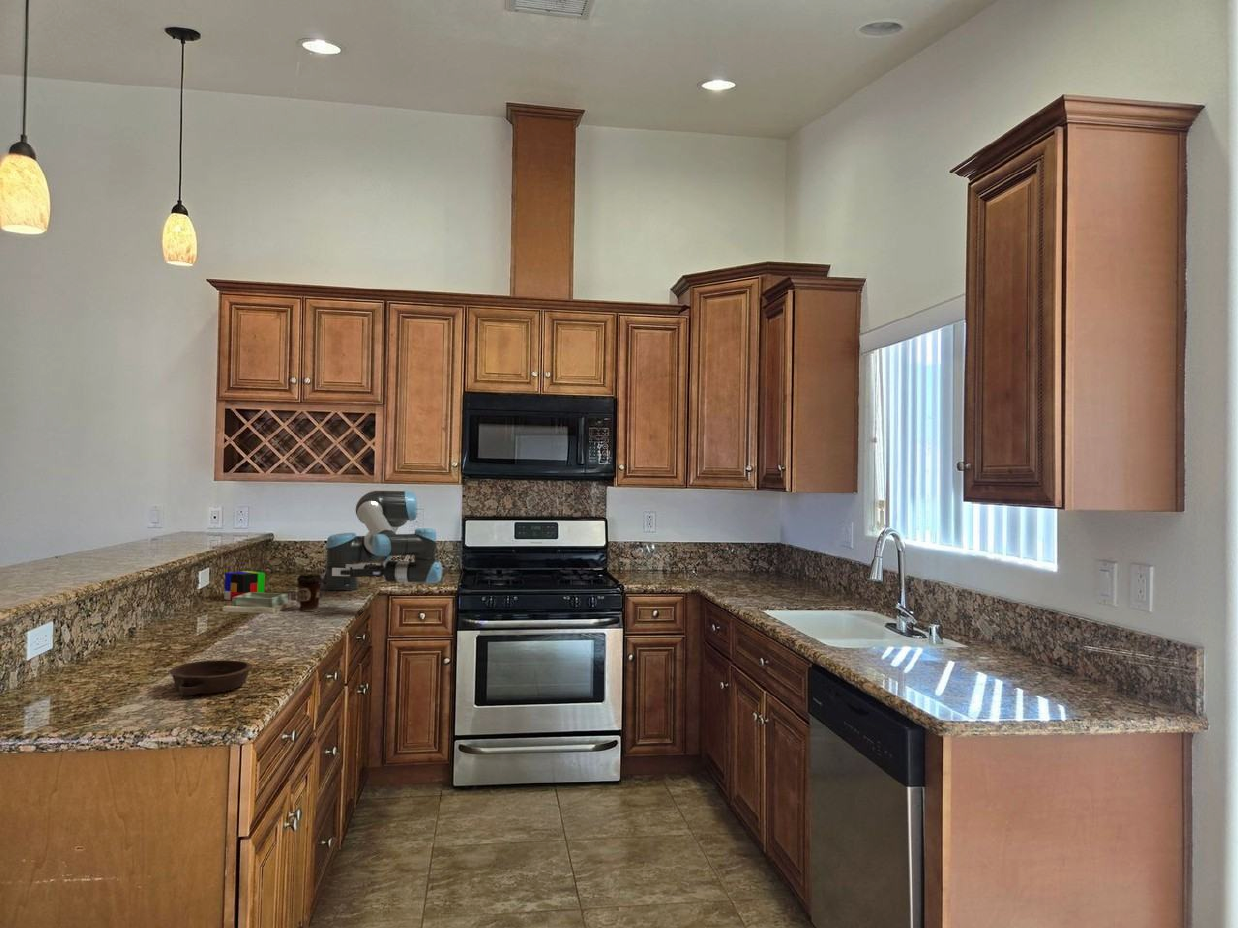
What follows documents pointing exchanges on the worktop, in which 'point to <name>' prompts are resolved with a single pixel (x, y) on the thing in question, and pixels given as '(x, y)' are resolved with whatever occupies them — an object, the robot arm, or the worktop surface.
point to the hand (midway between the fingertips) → (339, 569)
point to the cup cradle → (259, 603)
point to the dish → (209, 676)
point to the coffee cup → (309, 591)
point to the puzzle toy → (243, 583)
